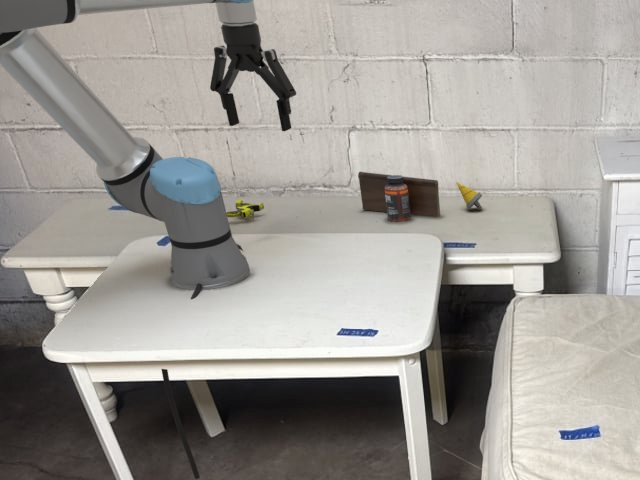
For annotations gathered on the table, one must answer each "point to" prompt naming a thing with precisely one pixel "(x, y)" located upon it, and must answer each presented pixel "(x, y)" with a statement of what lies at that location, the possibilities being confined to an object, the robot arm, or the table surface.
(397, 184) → the supplement bottle
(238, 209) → the yellow black clamp
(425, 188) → the wooden wall
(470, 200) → the yellow spinning top
